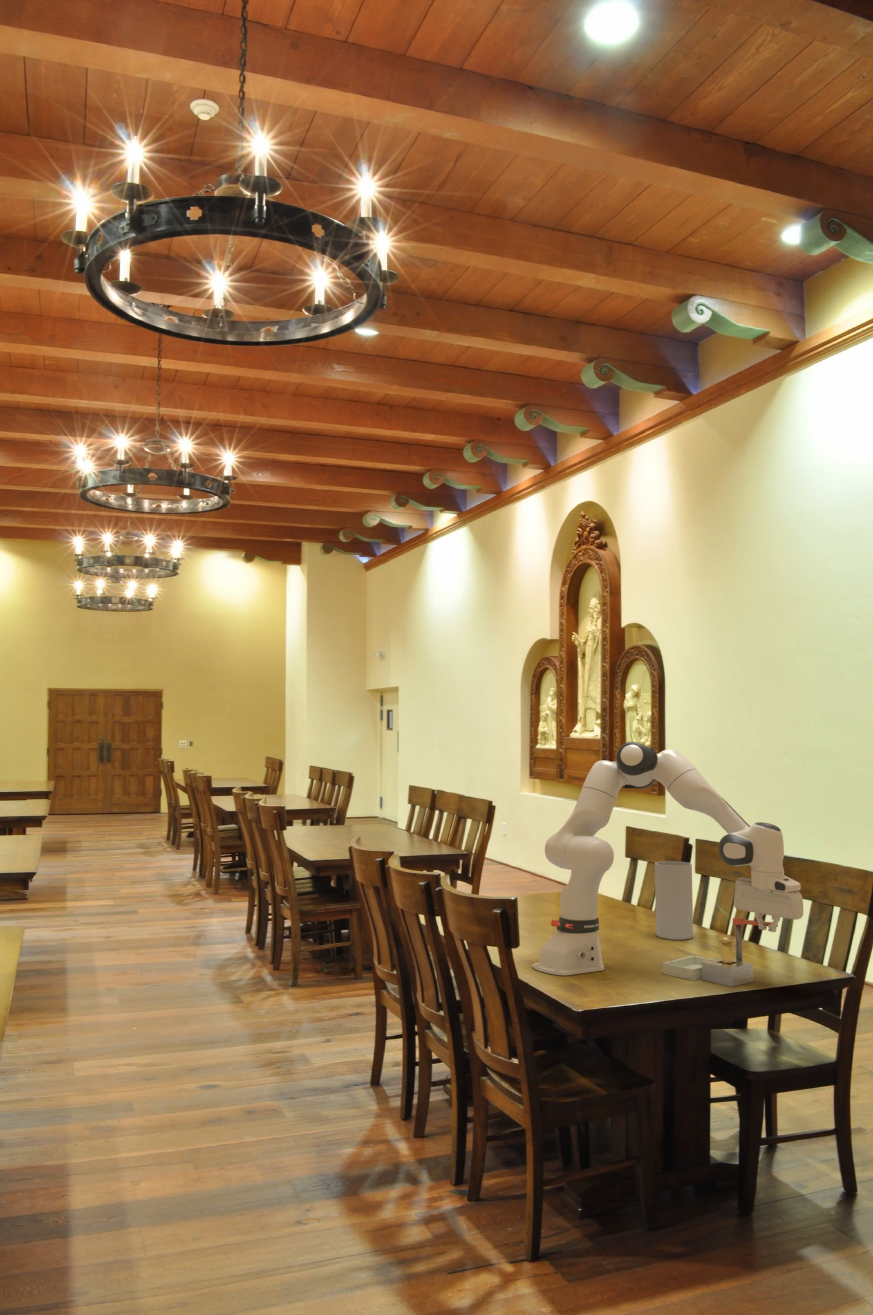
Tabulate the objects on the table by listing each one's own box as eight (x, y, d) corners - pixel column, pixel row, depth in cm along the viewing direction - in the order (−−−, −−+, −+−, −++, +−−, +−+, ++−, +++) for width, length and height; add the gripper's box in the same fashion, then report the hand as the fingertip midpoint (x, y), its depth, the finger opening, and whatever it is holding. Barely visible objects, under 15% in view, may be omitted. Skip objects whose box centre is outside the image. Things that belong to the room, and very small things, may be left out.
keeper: (731, 924, 280) (731, 919, 280) (734, 922, 282) (734, 917, 282) (776, 928, 273) (776, 923, 273) (778, 926, 276) (778, 921, 276)
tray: (692, 980, 275) (692, 969, 275) (662, 973, 283) (662, 963, 283) (724, 972, 285) (724, 961, 285) (694, 965, 293) (694, 955, 293)
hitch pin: (729, 983, 272) (728, 939, 273) (716, 980, 275) (715, 937, 276) (738, 981, 275) (737, 937, 276) (725, 978, 278) (724, 935, 279)
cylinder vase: (690, 933, 341) (688, 861, 343) (696, 941, 329) (694, 866, 331) (653, 932, 342) (652, 861, 344) (658, 940, 330) (657, 865, 332)
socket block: (732, 987, 268) (731, 932, 269) (702, 980, 276) (701, 927, 277) (758, 980, 276) (756, 927, 277) (727, 973, 284) (726, 921, 285)
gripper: (729, 877, 281) (729, 925, 280) (794, 886, 265) (794, 938, 264) (741, 875, 285) (741, 923, 284) (806, 885, 269) (806, 935, 268)
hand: (767, 930), depth 274 cm, fingers closed
